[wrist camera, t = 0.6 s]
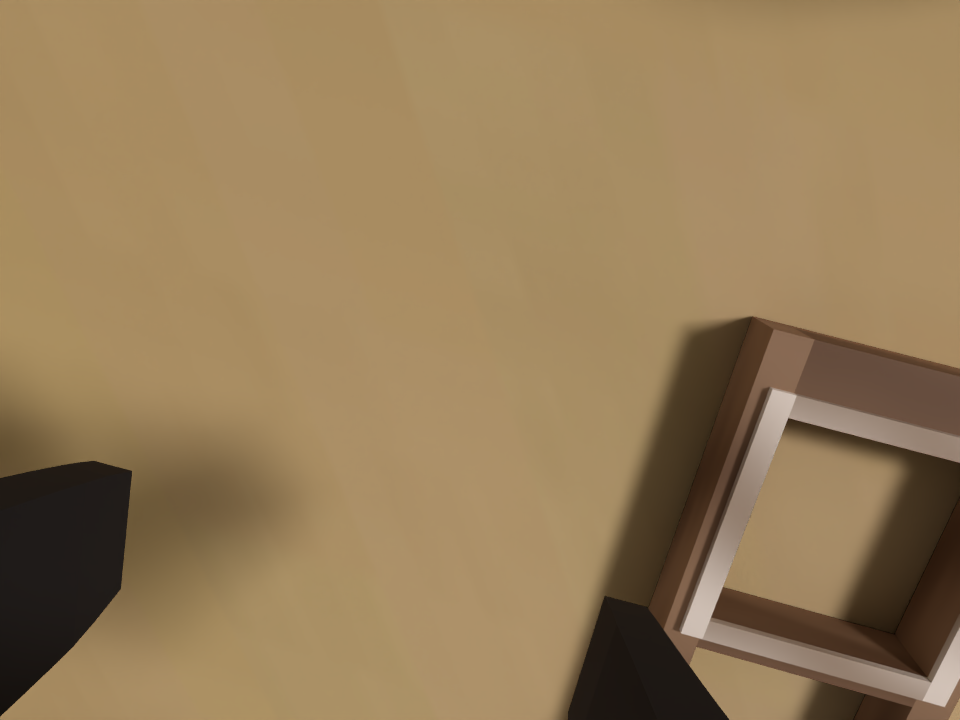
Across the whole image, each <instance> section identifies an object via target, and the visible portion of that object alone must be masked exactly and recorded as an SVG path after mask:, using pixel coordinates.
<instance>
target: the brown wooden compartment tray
mask: <svg viewBox="0 0 960 720" xmlns="http://www.w3.org/2000/svg"><path fill="white" fill-rule="evenodd" d="M788 418H790V419H794V420H798V421H802V422H805V423H809V424H813V425H817V426H821V427H825V428H828V429H832V430H836V431H840V432H844V433H848V434H851V435H855V436H859V437H863V438H867V439H871V440H874V441H878V442H882V443H886V444H890V445H894V446H897V447H901V448H905V449H909V450H913V451H917V452H920V453H924V454H928V455H932V456H936V457H940V458H943V459H947V460H951V461H955V462H959V463H960V369H958V368H954V367H950V366H946V365H943V364H939V363H935V362H931V361H927V360H923V359H919V358H915V357H911V356H907V355H903V354H899V353H895V352H891V351H887V350H883V349H879V348H876V347H872V346H868V345H864V344H860V343H856V342H852V341H848V340H844V339H840V338H836V337H832V336H828V335H824V334H820V333H816V332H812V331H809V330H805V329H801V328H797V327H793V326H789V325H785V324H781V323H777V322H773V321H769V320H765V319H761V318H757V317H753V316H752V319H751V322H750V325H749V328H748V330H747V333H746V336H745V339H744V342H743V344H742V347H741V350H740V353H739V356H738V359H737V361H736V364H735V367H734V370H733V373H732V375H731V378H730V381H729V384H728V387H727V389H726V392H725V395H724V398H723V401H722V403H721V406H720V409H719V412H718V415H717V417H716V420H715V423H714V426H713V429H712V431H711V434H710V437H709V440H708V443H707V446H706V448H705V451H704V454H703V457H702V460H701V462H700V465H699V468H698V471H697V474H696V476H695V479H694V482H693V485H692V488H691V490H690V493H689V496H688V499H687V502H686V504H685V507H684V510H683V513H682V516H681V518H680V521H679V524H678V527H677V530H676V532H675V535H674V538H673V541H672V544H671V547H670V549H669V552H668V555H667V558H666V561H665V563H664V566H663V569H662V572H661V575H660V577H659V580H658V583H657V586H656V589H655V591H654V594H653V597H652V600H651V603H650V605H649V608H648V609H649V611H650V612H651V613H652V614H653V616H654V617H655V618H656V620H657V621H658V622H659V624H660V625H661V627H662V628H663V629H664V631H665V632H666V634H667V635H668V636H669V638H670V639H671V641H672V642H673V644H674V645H675V646H676V648H677V649H678V651H679V652H680V653H681V655H682V656H683V658H684V659H685V660H686V662H687V663H688V665H689V664H690V662H691V659H692V656H693V654H694V651H695V649H696V647H699V648H703V649H707V650H710V651H714V652H717V653H721V654H724V655H728V656H732V657H735V658H739V659H742V660H746V661H749V662H753V663H757V664H760V665H764V666H767V667H771V668H774V669H778V670H781V671H785V672H789V673H792V674H796V675H799V676H803V677H806V678H810V679H814V680H817V681H821V682H824V683H828V684H831V685H835V686H839V687H842V688H846V689H849V690H853V691H856V692H860V693H863V694H866V695H865V697H864V699H863V701H862V703H861V706H860V708H859V710H858V712H857V714H856V716H855V718H854V720H948V719H949V717H950V715H951V713H952V711H953V709H954V708H955V706H956V704H957V702H958V700H959V698H960V498H959V500H958V502H957V505H956V507H955V509H954V511H953V513H952V515H951V517H950V519H949V521H948V523H947V525H946V528H945V530H944V532H943V534H942V536H941V538H940V540H939V542H938V544H937V546H936V549H935V551H934V553H933V555H932V557H931V559H930V561H929V563H928V565H927V567H926V569H925V572H924V574H923V576H922V578H921V580H920V582H919V584H918V586H917V588H916V590H915V592H914V595H913V597H912V599H911V601H910V603H909V605H908V607H907V609H906V611H905V613H904V616H903V618H902V620H901V622H900V624H899V626H898V628H897V630H896V632H895V634H891V633H887V632H883V631H880V630H876V629H873V628H869V627H865V626H862V625H858V624H854V623H851V622H847V621H844V620H840V619H836V618H833V617H829V616H825V615H822V614H818V613H814V612H811V611H807V610H804V609H800V608H796V607H793V606H789V605H785V604H782V603H778V602H775V601H771V600H767V599H764V598H760V597H756V596H753V595H749V594H745V593H742V592H738V591H735V590H731V589H727V588H724V587H723V585H724V582H725V580H726V577H727V575H728V572H729V570H730V567H731V564H732V562H733V559H734V557H735V554H736V551H737V549H738V546H739V544H740V541H741V539H742V536H743V533H744V531H745V528H746V526H747V523H748V521H749V518H750V515H751V513H752V510H753V508H754V505H755V502H756V500H757V497H758V495H759V492H760V490H761V487H762V484H763V482H764V479H765V477H766V474H767V471H768V469H769V466H770V464H771V461H772V459H773V456H774V453H775V451H776V448H777V446H778V443H779V440H780V438H781V435H782V433H783V430H784V428H785V425H786V422H787V420H788Z"/></svg>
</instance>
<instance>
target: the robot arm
mask: <svg viewBox="0 0 960 720" xmlns="http://www.w3.org/2000/svg"><path fill="white" fill-rule="evenodd" d="M131 476H132V471H130V470H126V469H123V468H119V467H115V466H111V465H107V464H104V463H100V462H96V461H89V462H80V463H73V464H67V465H61V466H56V467H51V468H45V469H40V470H36V471H31V472H26V473H21V474H17V475H12V476H8V477H3V478H0V716H1V715H2V714H3V713H4V712H5V711H6V710H8V709H9V708H10V707H11V706H12V705H13V704H14V703H15V702H16V701H17V700H18V699H19V698H20V697H21V696H22V695H24V694H25V693H26V692H27V691H28V690H29V689H30V688H31V687H32V686H33V685H34V684H35V683H36V682H37V681H38V680H39V679H40V678H41V677H42V676H43V675H44V674H45V673H47V672H48V671H49V670H50V669H51V668H52V667H53V666H54V665H55V664H56V663H57V662H58V661H59V660H60V659H61V658H62V657H63V656H64V655H65V654H66V653H67V652H68V651H69V650H70V649H71V648H72V647H73V646H74V645H75V644H76V643H77V642H78V640H79V639H80V638H81V637H82V636H83V635H84V633H85V632H86V631H87V630H88V629H89V627H90V626H91V625H92V624H93V623H94V622H95V620H96V619H97V618H98V617H99V615H100V614H101V613H102V612H103V610H104V609H105V608H106V607H107V605H108V604H109V603H110V602H111V600H112V599H113V598H114V597H115V595H116V594H117V593H118V592H119V590H120V589H121V581H122V570H123V560H124V549H125V539H126V528H127V518H128V507H129V497H130V487H131ZM568 720H729V719H728V717H727V716H726V715H725V713H724V712H723V711H722V710H721V708H720V707H719V706H718V704H717V703H716V702H715V700H714V699H713V698H712V696H711V695H710V694H709V692H708V691H707V689H706V688H705V687H704V685H703V684H702V683H701V681H700V680H699V679H698V677H697V676H696V674H695V673H694V672H693V670H692V669H691V667H690V666H689V665H688V663H687V662H686V660H685V659H684V658H683V656H682V655H681V653H680V652H679V651H678V649H677V648H676V646H675V645H674V644H673V642H672V641H671V639H670V638H669V636H668V635H667V634H666V632H665V631H664V629H663V628H662V627H661V625H660V624H659V622H658V621H657V620H656V618H655V617H654V616H653V614H652V613H651V612H650V611H649V609H648V608H647V607H645V606H641V605H637V604H633V603H630V602H626V601H622V600H618V599H614V598H611V597H607V596H605V597H604V600H603V603H602V606H601V610H600V613H599V616H598V619H597V622H596V625H595V629H594V632H593V635H592V638H591V641H590V645H589V648H588V651H587V654H586V657H585V660H584V664H583V667H582V670H581V673H580V676H579V680H578V683H577V686H576V689H575V692H574V695H573V699H572V702H571V705H570V708H569V711H568Z"/></svg>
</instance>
